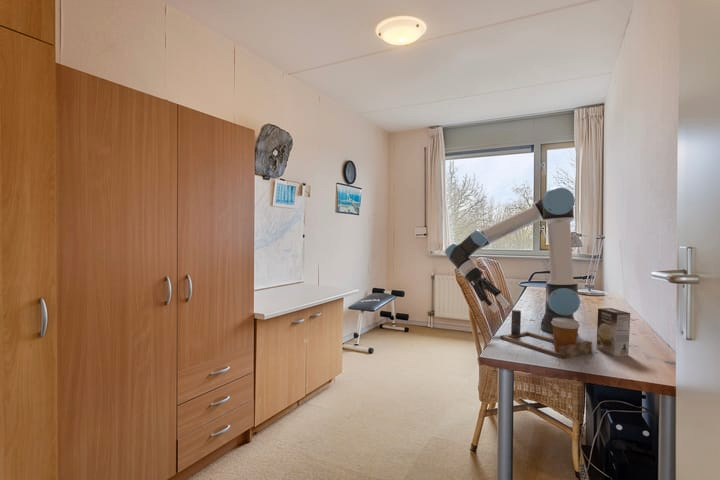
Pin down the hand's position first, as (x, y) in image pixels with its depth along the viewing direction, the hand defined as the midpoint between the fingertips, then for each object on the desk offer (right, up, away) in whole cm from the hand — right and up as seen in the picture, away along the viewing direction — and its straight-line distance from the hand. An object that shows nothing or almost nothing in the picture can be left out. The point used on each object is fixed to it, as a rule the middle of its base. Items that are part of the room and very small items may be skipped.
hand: (502, 308), depth 164 cm
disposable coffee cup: (+15, -12, -23) cm, 30 cm away
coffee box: (+34, -13, -22) cm, 42 cm away
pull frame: (+11, -12, -15) cm, 22 cm away
